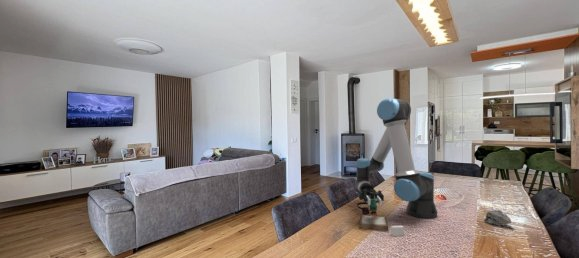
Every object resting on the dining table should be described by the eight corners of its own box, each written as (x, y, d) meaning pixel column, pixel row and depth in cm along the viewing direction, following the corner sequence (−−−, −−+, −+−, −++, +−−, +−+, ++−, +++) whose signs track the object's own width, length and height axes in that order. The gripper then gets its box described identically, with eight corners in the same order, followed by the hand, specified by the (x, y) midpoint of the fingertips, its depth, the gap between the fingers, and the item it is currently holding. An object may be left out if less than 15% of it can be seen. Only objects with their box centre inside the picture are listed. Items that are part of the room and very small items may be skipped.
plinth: (386, 221, 128) (386, 216, 128) (388, 231, 117) (388, 225, 117) (360, 219, 132) (359, 214, 132) (359, 228, 120) (359, 223, 120)
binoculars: (355, 190, 129) (376, 189, 127) (357, 210, 129) (377, 210, 127) (356, 195, 121) (378, 194, 118) (358, 217, 121) (380, 217, 118)
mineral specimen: (498, 233, 125) (489, 231, 120) (486, 218, 131) (476, 216, 126) (517, 223, 120) (508, 221, 115) (504, 208, 126) (494, 205, 121)
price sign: (402, 234, 114) (402, 225, 114) (403, 235, 112) (403, 227, 112) (391, 234, 114) (391, 226, 113) (392, 236, 112) (392, 227, 112)
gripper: (381, 196, 141) (394, 211, 118) (350, 195, 143) (356, 209, 120) (382, 182, 141) (394, 195, 118) (350, 182, 143) (356, 194, 120)
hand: (375, 202), depth 119 cm, fingers closed on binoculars, 4 cm apart
